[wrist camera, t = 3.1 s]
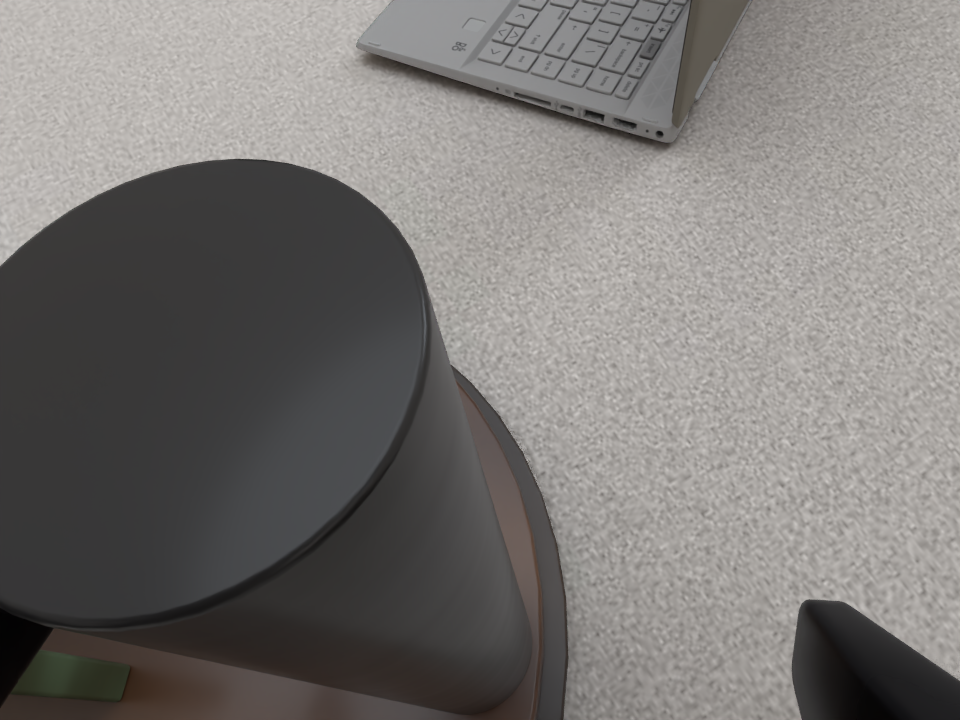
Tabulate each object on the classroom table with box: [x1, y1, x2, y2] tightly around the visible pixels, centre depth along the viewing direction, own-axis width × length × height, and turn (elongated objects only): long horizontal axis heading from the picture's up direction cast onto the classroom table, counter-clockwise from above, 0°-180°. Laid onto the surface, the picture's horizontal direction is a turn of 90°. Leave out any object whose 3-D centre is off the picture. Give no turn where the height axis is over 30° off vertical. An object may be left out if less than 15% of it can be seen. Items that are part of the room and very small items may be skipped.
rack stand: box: [451, 365, 568, 720], centre depth 16 cm, size 18×18×1 cm
